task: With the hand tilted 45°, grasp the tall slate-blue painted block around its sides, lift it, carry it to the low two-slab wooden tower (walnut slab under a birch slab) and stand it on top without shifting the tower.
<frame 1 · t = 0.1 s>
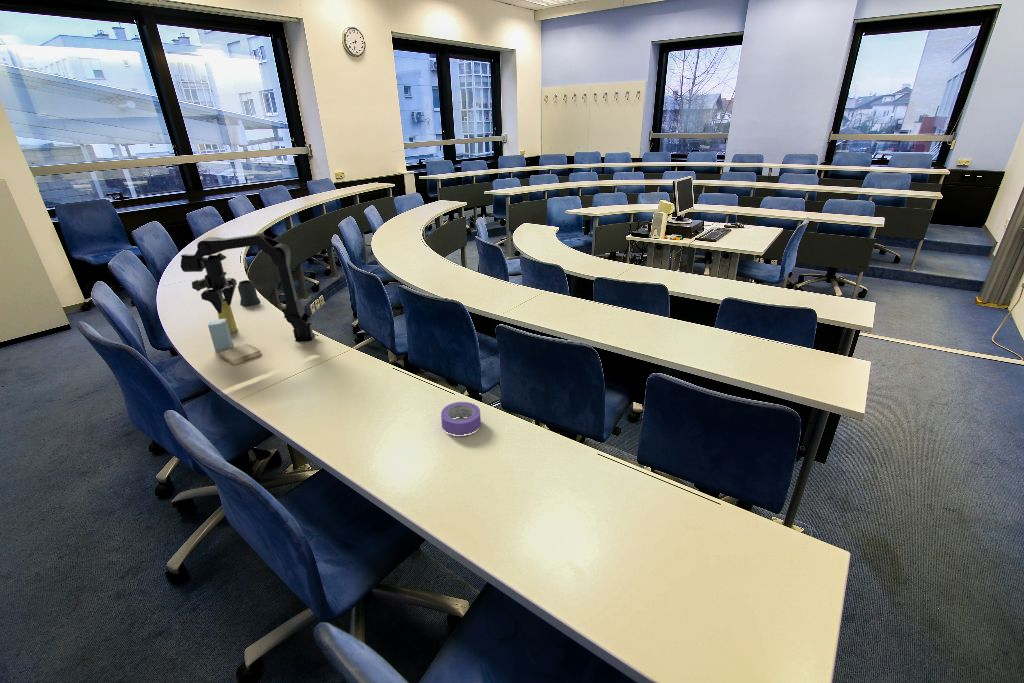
hand: (224, 308, 187), 15 cm above the table, tool pointing down, fingers open, 9 cm apart
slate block: (224, 349, 187), on the table
vase: (230, 331, 204), on the table
mug: (250, 302, 236), on the table
birch slab: (241, 356, 179), point 1 cm above the table, touching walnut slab
tape roll: (461, 426, 142), on the table
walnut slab: (242, 360, 180), on the table, touching birch slab
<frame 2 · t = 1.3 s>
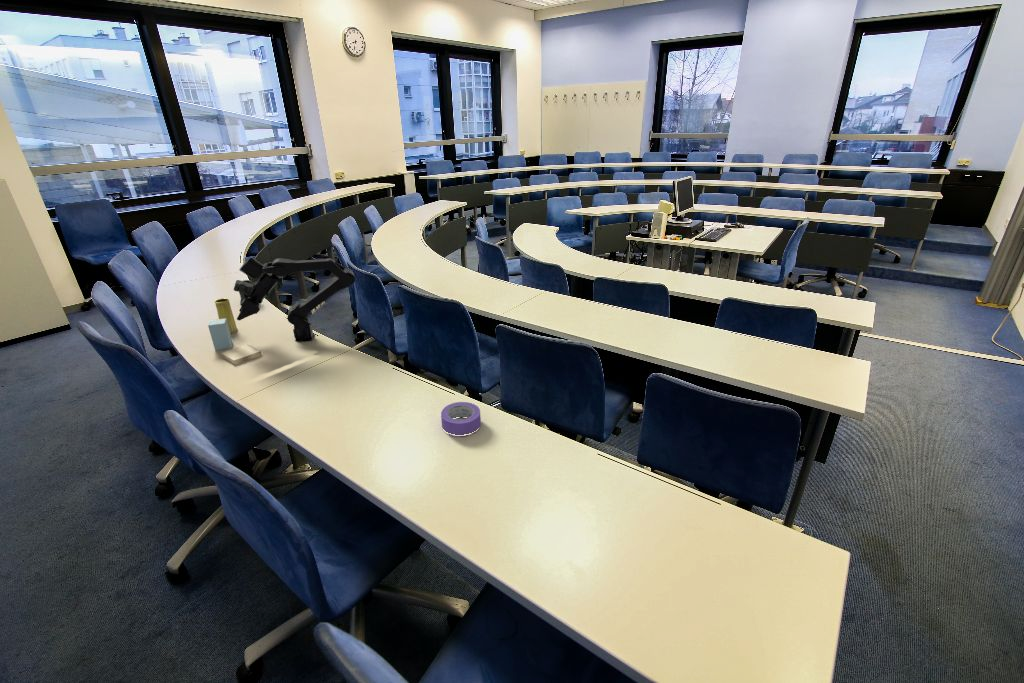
hand: (239, 315, 184), 13 cm above the table, tool tilted 45°, fingers open, 9 cm apart
nothing on the table moved.
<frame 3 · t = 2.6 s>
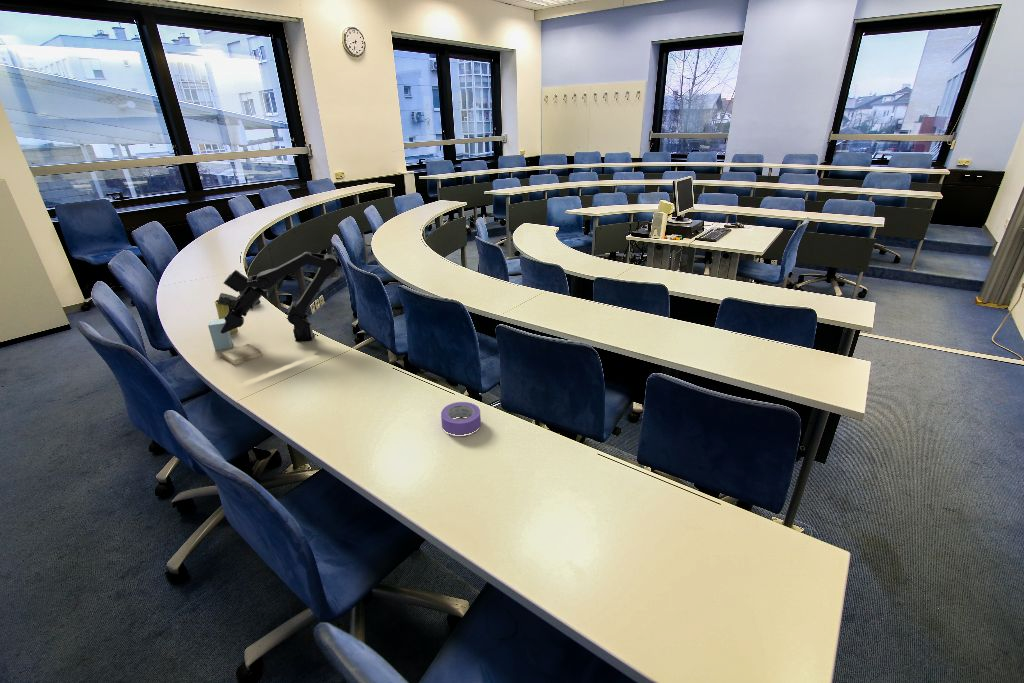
hand: (223, 328, 184), 9 cm above the table, tool tilted 45°, fingers open, 9 cm apart
nothing on the table moved.
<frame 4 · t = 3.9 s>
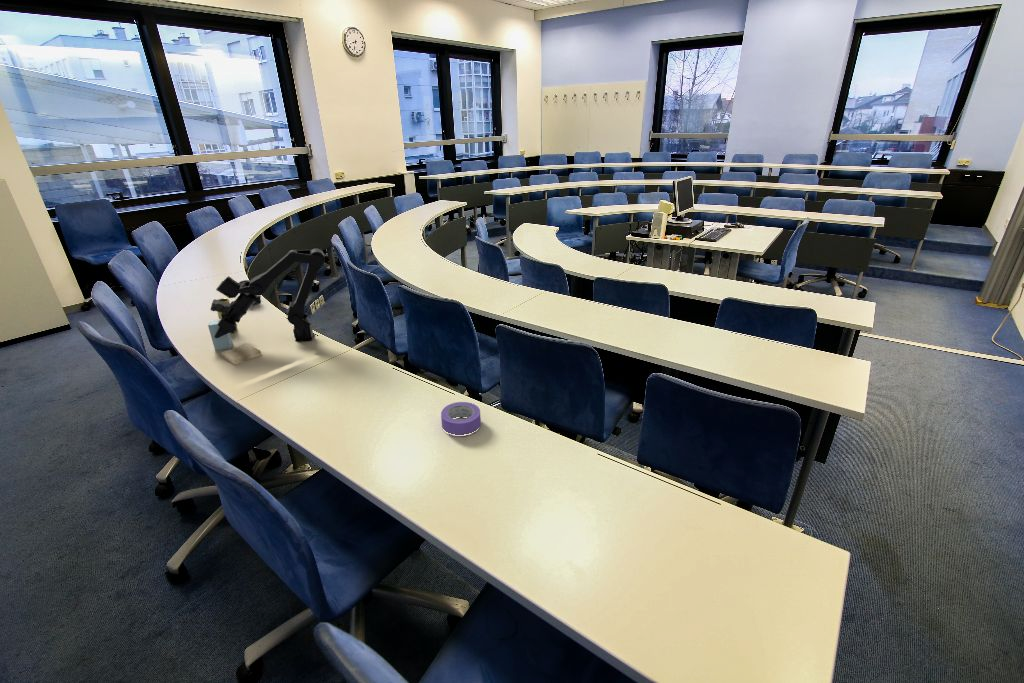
hand: (216, 334, 184), 7 cm above the table, tool tilted 45°, fingers closed on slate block, 5 cm apart
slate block: (224, 349, 187), on the table, touching gripper
everything else where it was.
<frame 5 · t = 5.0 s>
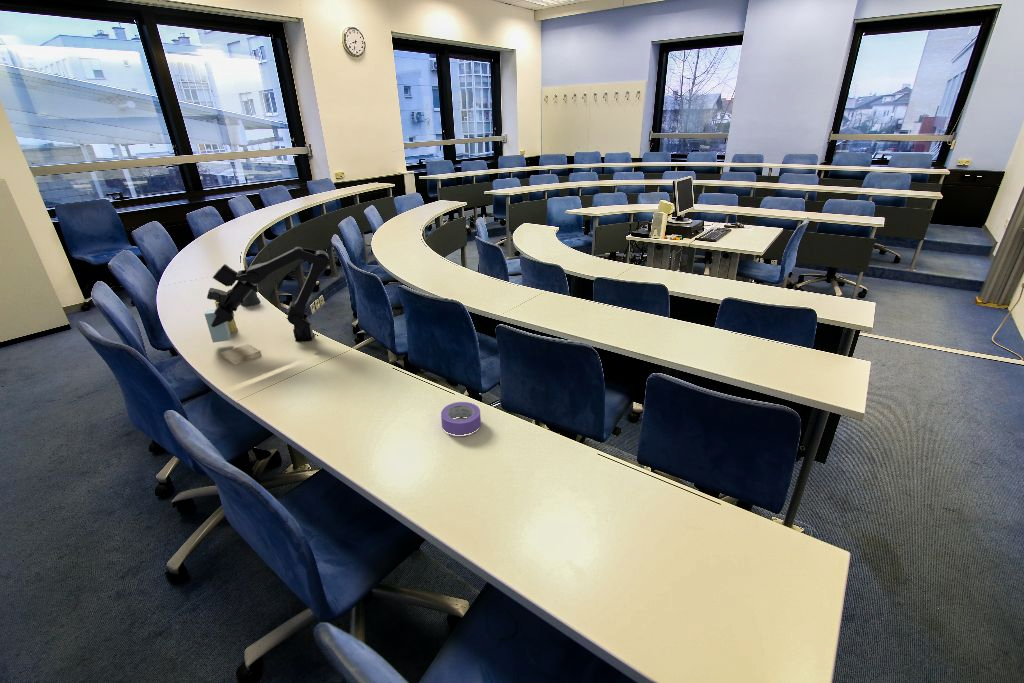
hand: (213, 323, 182), 11 cm above the table, tool tilted 45°, fingers closed on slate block, 5 cm apart
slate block: (221, 338, 185), point 5 cm above the table, touching gripper
everything else where it was.
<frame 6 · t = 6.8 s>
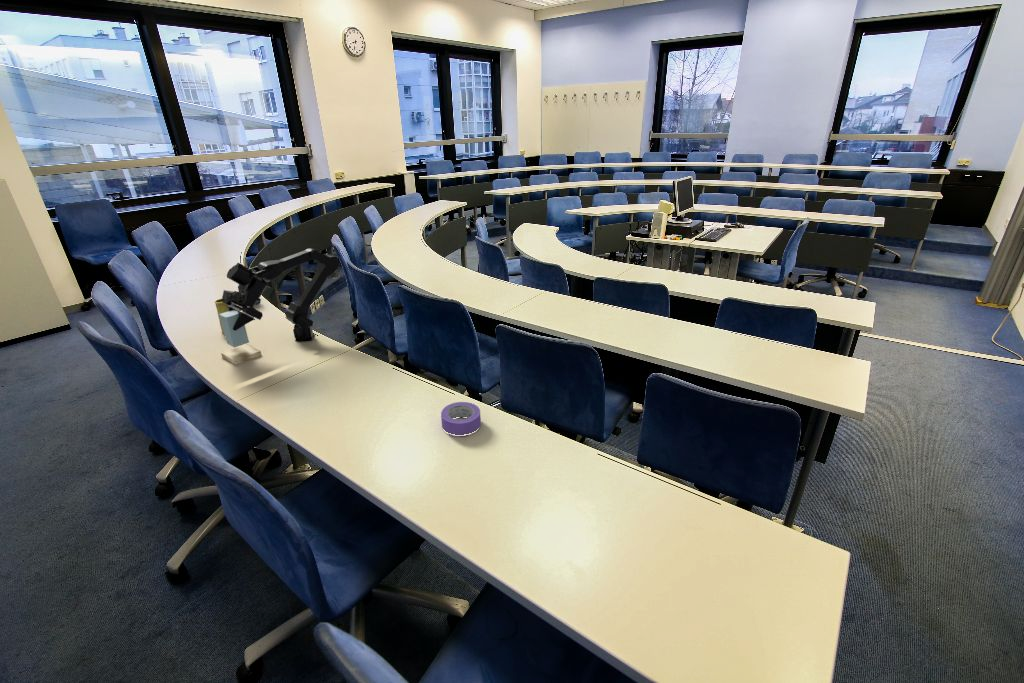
hand: (230, 328, 173), 13 cm above the table, tool tilted 45°, fingers closed on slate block, 5 cm apart
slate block: (238, 343, 177), point 7 cm above the table, touching gripper
everything else where it was.
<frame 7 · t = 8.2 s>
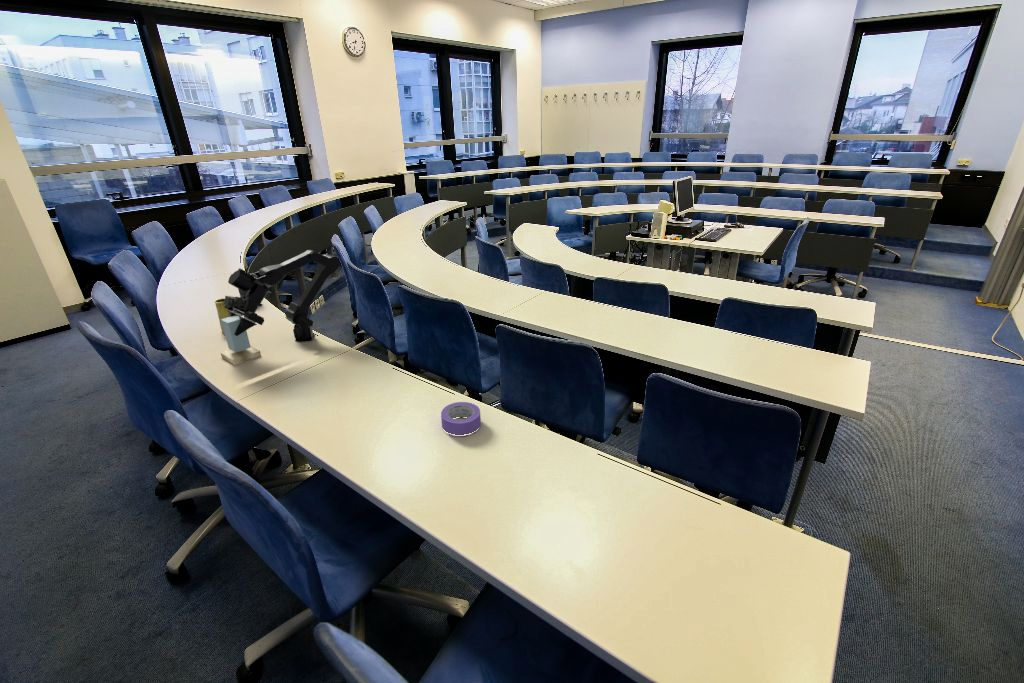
hand: (231, 333, 174), 11 cm above the table, tool tilted 45°, fingers closed on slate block, 5 cm apart
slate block: (239, 348, 178), point 5 cm above the table, touching gripper
everything else where it was.
when the fingers open (11 cm above the table, at t = 8.6 s): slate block drops 1 cm, resting on birch slab.
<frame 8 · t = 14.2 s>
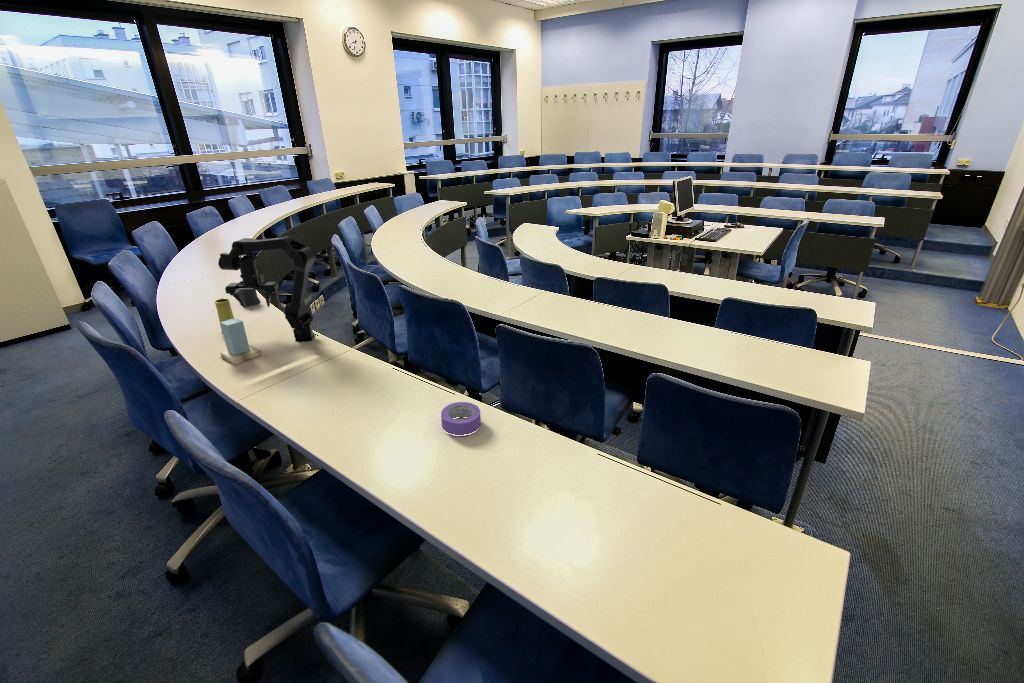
hand: (257, 307, 194), 13 cm above the table, tool pointing down, fingers open, 9 cm apart
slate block: (239, 351, 178), point 3 cm above the table, touching birch slab
birch slab: (241, 356, 179), point 1 cm above the table, touching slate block, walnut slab
everything else where it was.
at the end: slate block inside the target area on the birch slab (0.3 cm from its centre), point 2.2 cm above the birch slab's base; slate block tilted 3°; birch slab moved 0.7 cm from its start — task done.
